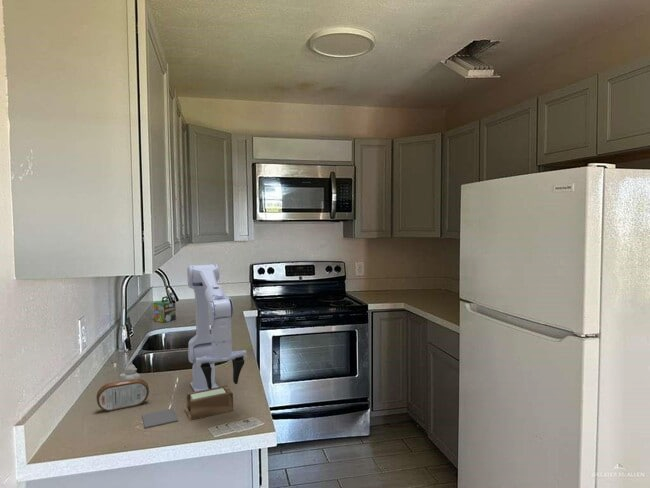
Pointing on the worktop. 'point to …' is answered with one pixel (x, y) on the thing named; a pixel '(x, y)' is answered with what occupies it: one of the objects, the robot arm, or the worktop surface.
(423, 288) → the worktop surface
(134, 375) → the white tapered cone
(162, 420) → the mat
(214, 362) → the robot arm
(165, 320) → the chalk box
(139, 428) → the worktop surface
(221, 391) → the sage bar
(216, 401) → the pocket block
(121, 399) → the tin
